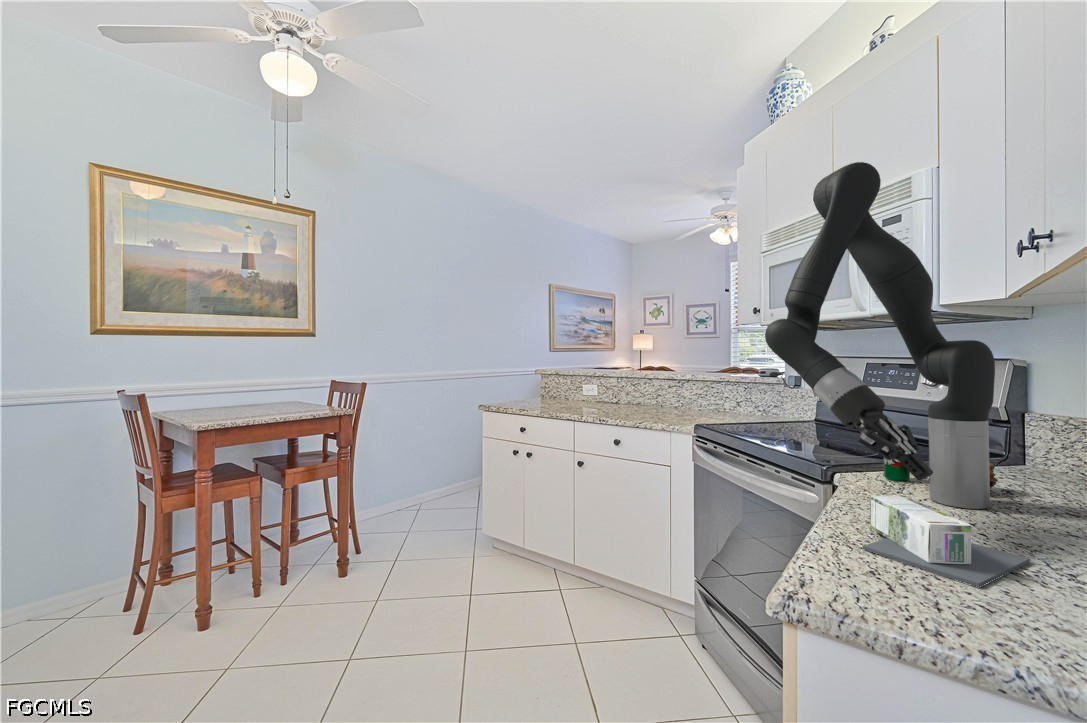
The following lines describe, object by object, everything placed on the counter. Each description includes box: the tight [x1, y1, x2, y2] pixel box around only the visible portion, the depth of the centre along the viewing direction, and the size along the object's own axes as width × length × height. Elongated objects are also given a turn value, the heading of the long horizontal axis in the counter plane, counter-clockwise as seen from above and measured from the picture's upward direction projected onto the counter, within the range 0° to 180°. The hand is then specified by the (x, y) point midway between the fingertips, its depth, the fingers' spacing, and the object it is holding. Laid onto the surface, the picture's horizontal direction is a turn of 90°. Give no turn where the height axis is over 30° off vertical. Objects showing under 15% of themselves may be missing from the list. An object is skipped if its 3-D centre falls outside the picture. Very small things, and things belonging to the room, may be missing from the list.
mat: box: [862, 537, 1031, 588], centre depth 70 cm, size 16×14×1 cm
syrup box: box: [869, 495, 972, 564], centre depth 72 cm, size 6×6×14 cm
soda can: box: [883, 457, 911, 482], centre depth 114 cm, size 5×5×12 cm
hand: (926, 476), depth 76 cm, fingers closed
